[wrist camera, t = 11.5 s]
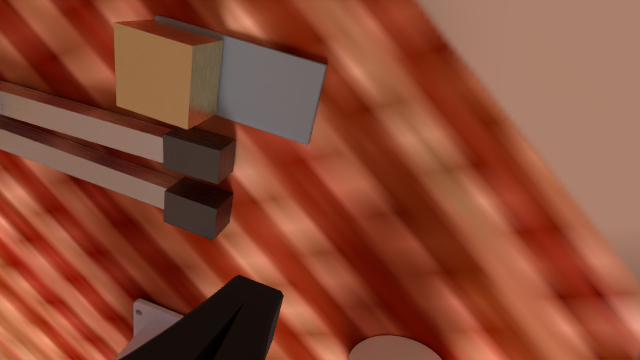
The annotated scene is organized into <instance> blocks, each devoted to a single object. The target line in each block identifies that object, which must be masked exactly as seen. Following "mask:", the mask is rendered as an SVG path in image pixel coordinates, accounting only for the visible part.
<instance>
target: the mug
mask: <svg viewBox="0 0 640 360" xmlns="http://www.w3.org/2000/svg"><path fill="white" fill-rule="evenodd" d="M348 360H442V359H441V358H440V357H439V356H438V355H437V354H436V353H435V352H434V351H433V350H431V349H430V348H428V347H427V346H425V345H423V344H421V343H419V342H417V341H415V340H412V339H409V338H405V337H400V336H393V335H382V336H375V337H371V338H368V339H366V340H364V341H362V342H360V343H359V344H357V345H356V346H355V347H354V348H353V349H352V351H351V353H350V354H349V357H348Z"/></svg>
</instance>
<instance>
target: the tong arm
mask: <svg viewBox="0 0 640 360" xmlns="http://www.w3.org/2000/svg"><path fill="white" fill-rule="evenodd" d="M0 114H1V115H5V116H8V117H11V118H15V119H18V120H21V121H25V122H28V123H31V124H35V125H38V126H41V127H45V128H48V129H51V130H55V131H58V132H61V133H64V134H68V135H71V136H74V137H78V138H81V139H84V140H88V141H91V142H94V143H98V144H101V145H104V146H108V147H111V148H114V149H118V150H121V151H124V152H127V153H131V154H134V155H137V156H141V157H144V158H147V159H151V160H154V161H157V162H161V163H163V168H165V169H169V170H172V171H175V172H179V173H182V174H185V175H189V176H192V177H195V178H198V179H202V180H205V181H208V182H212V183H215V184H219V183H220V182H221V181H223V180H224V179H225V178H226V177H227V176H228V175H230V174H231V173H232V172H233V168H234V155H235V142H236V140H234V139H231V138H227V137H224V136H220V135H216V134H213V133H209V132H206V131H202V130H199V129H195V128H190V129H188V130H187V129H184V128H181V127H177V128H175V129H170V128H166V127H163V126H159V125H156V124H152V123H149V122H145V121H142V120H138V119H135V118H131V117H128V116H124V115H120V114H117V113H113V112H110V111H106V110H103V109H99V108H96V107H92V106H89V105H85V104H82V103H78V102H75V101H71V100H68V99H64V98H61V97H57V96H54V95H50V94H47V93H43V92H40V91H36V90H33V89H29V88H26V87H22V86H19V85H15V84H12V83H8V82H5V81H1V80H0Z"/></svg>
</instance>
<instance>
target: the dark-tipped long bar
mask: <svg viewBox="0 0 640 360" xmlns="http://www.w3.org/2000/svg"><path fill="white" fill-rule="evenodd" d="M0 149H2V150H4V151H7V152H10V153H13V154H15V155H18V156H21V157H23V158H26V159H29V160H31V161H34V162H37V163H40V164H42V165H45V166H48V167H50V168H53V169H56V170H59V171H61V172H64V173H67V174H69V175H72V176H75V177H77V178H80V179H83V180H86V181H88V182H91V183H94V184H96V185H99V186H102V187H105V188H107V189H110V190H113V191H115V192H118V193H121V194H123V195H126V196H129V197H132V198H134V199H137V200H140V201H142V202H145V203H148V204H151V205H153V206H156V207H159V208H161V209H164V222H166V223H168V224H171V225H174V226H176V227H179V228H182V229H184V230H187V231H190V232H192V233H195V234H198V235H200V236H203V237H206V238H208V239H211V240H214V239H215V238H216V237H217V236H218V235H219V234H220V233H221V232H222V230H223V229H224V228H225V227H226V226H227V225H228V224H229V222H230V214H231V207H232V200H233V194H232V193H229V192H226V191H223V190H221V189H218V188H215V187H212V186H209V185H207V184H204V183H201V182H198V181H195V180H192V179H190V178H187V177H183V178H182V179H181V180H179V179H176V178H174V177H171V176H168V175H165V174H162V173H160V172H157V171H154V170H151V169H148V168H146V167H143V166H140V165H137V164H134V163H132V162H129V161H126V160H123V159H120V158H117V157H115V156H112V155H109V154H106V153H103V152H101V151H98V150H95V149H92V148H89V147H87V146H84V145H81V144H78V143H75V142H72V141H70V140H67V139H64V138H61V137H58V136H56V135H53V134H50V133H47V132H44V131H42V130H39V129H36V128H33V127H30V126H28V125H25V124H22V123H19V122H16V121H13V120H11V119H8V118H5V117H2V116H0Z"/></svg>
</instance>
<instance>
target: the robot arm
mask: <svg viewBox="0 0 640 360" xmlns="http://www.w3.org/2000/svg"><path fill="white" fill-rule="evenodd" d="M283 296H284V295H283V294H282V292H281V291H280V290H277V289H275V288H272V287H269V286H267V285H264V284H262V283H259V282H256V281H254V280H251V279H249V278H246V277H243V276H241V275H238V276H235V277H234V278H233V279H231V280H230V281H229V282H228V283H227V284H226V285H224V286H223V287H222V288H221V289H219V290H218V291H217V292H216V293H215V294H213V295H212V296H211V297H209V298H208V299H207V300H206V301H204V302H203V303H202V304H200V305H199V306H198V307H196V308H195V309H194V310H192V311H191V312H190V313H188V314H187V315H185V316H183V315H180V314H178V313H175V312H173V311H170V310H168V309H166V308H163V307H161V306H158V305H156V304H153V303H151V302H148V301H146V300H143V299H137V300H136V301H135V302H134V303H133V324H134V338H133V339H132V340H131V341H130V342H129V343H128V344H127V345H126V347H125V348H124V349H123V350H122V351H121V352H120V353H119V355H118V356H117V357H116V358H115V359H114V360H265V358H266V356H267V353H268V350H269V348H270V345H271V343H272V340H273V336H274V332H275V328H276V324H277V320H278V316H279V312H280V308H281V304H282V300H283Z"/></svg>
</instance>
